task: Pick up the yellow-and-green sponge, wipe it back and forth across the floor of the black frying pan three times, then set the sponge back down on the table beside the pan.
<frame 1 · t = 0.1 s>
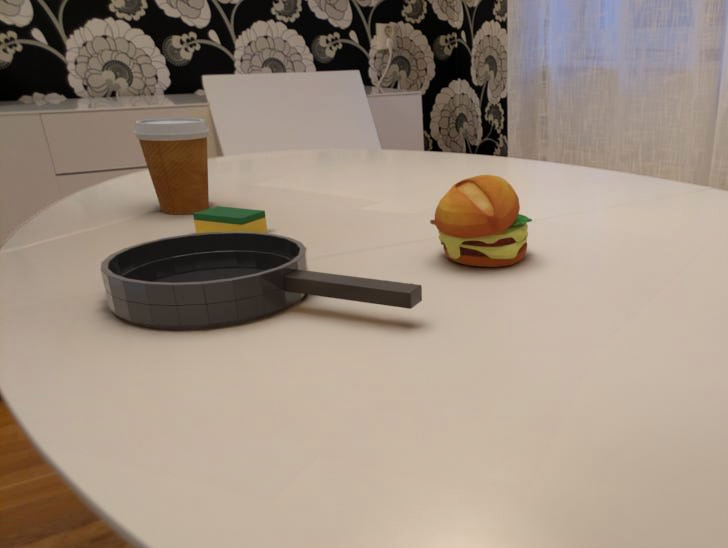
pan handle: (351, 288, 57), point 2 cm above the table
sponge: (232, 236, 82), on the table
disposable coffee cup: (185, 211, 96), on the table
pan: (214, 296, 62), on the table
cheeseburger: (483, 260, 75), on the table
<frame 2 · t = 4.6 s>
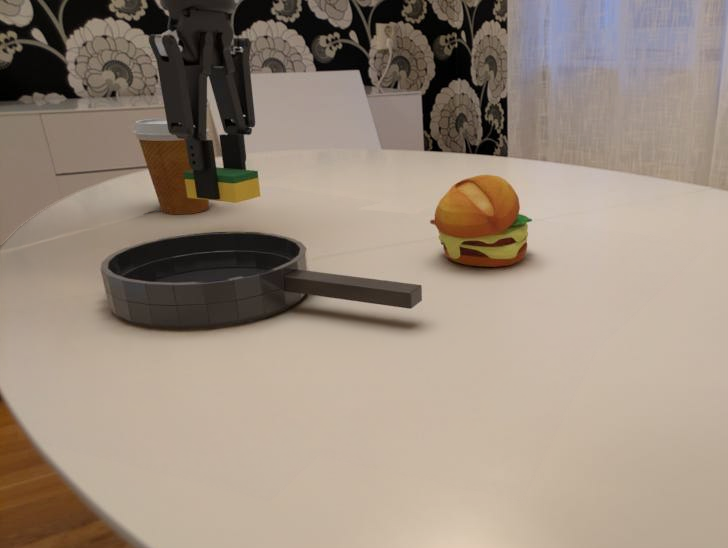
hand: (223, 193, 80), 5 cm above the table, tool pointing down, fingers closed on sponge, 4 cm apart
sponge: (224, 197, 80), point 5 cm above the table, touching gripper
everything else where it was.
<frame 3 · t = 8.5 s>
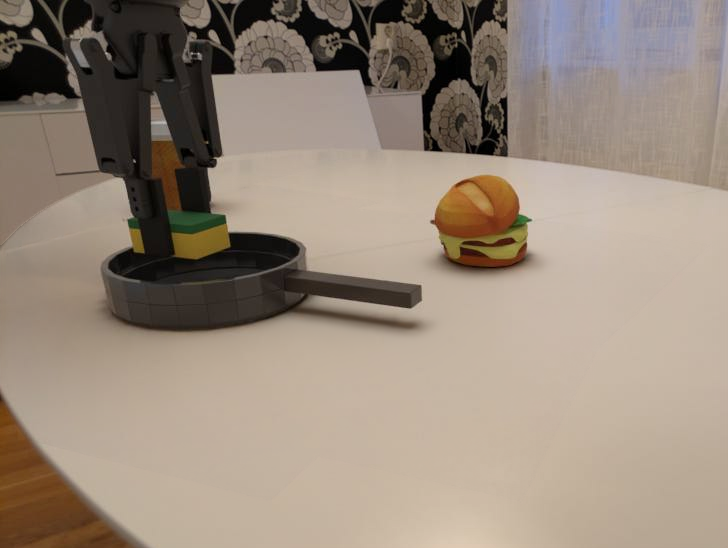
hand: (181, 246, 61), 5 cm above the table, tool pointing down, fingers closed on sponge, 4 cm apart
sponge: (183, 249, 61), point 4 cm above the table, touching gripper
everything else where it was.
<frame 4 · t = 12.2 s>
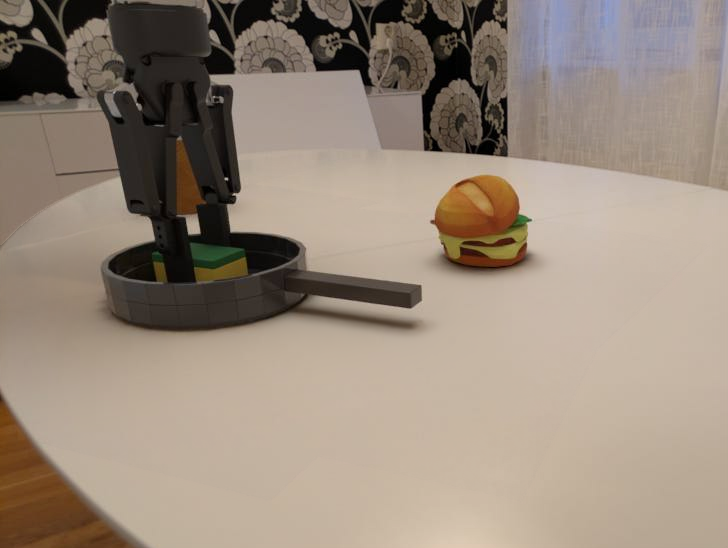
hand: (202, 278, 64), 1 cm above the table, tool pointing down, fingers closed on sponge, 4 cm apart
sponge: (203, 281, 65), point 1 cm above the table, touching gripper
everything else where it was.
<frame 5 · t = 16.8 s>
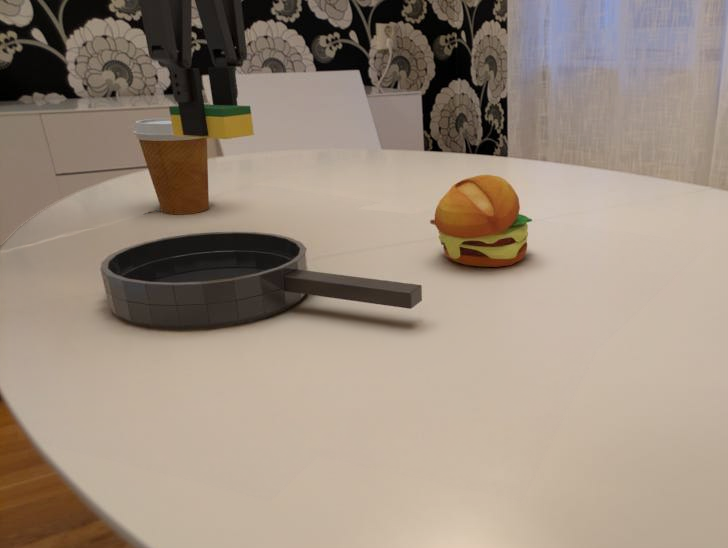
hand: (212, 132, 73), 13 cm above the table, tool pointing down, fingers closed on sponge, 4 cm apart
sponge: (214, 135, 73), point 12 cm above the table, touching gripper
everything else where it was.
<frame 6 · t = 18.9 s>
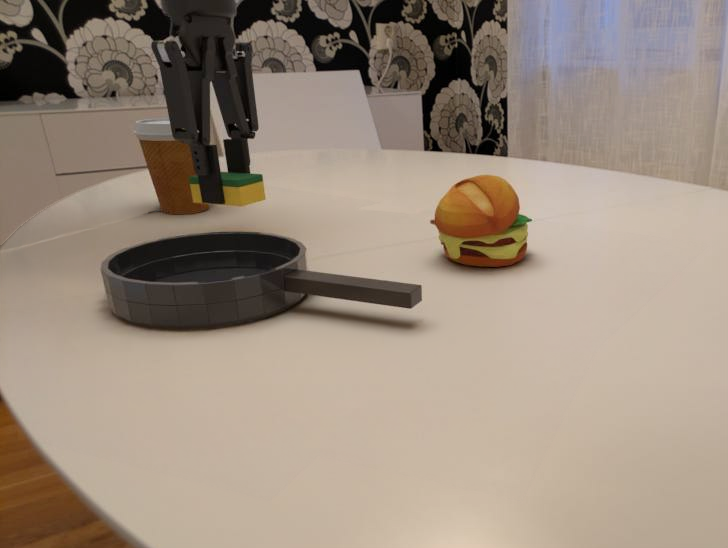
hand: (228, 198, 81), 5 cm above the table, tool pointing down, fingers closed on sponge, 4 cm apart
sponge: (229, 201, 81), point 4 cm above the table, touching gripper
everything else where it was.
when the fingers open (0 cm above the table, at t = 20.3 s): sponge stays where it is, on the table.
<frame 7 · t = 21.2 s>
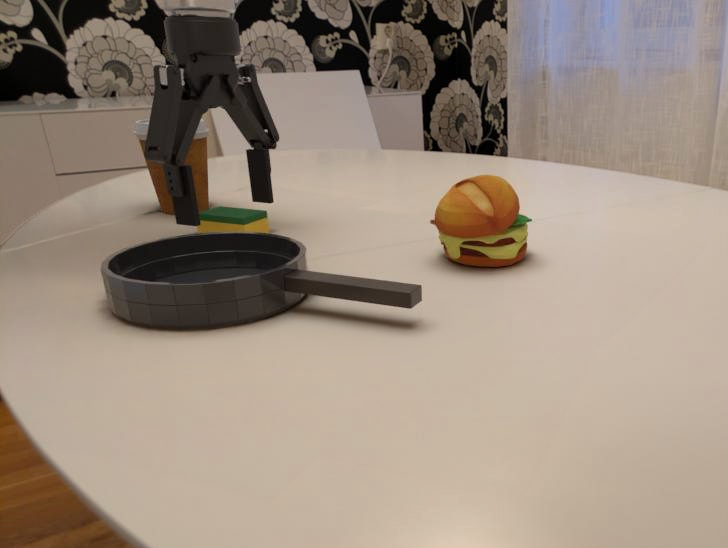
hand: (228, 212, 81), 3 cm above the table, tool pointing down, fingers open, 13 cm apart
sponge: (234, 236, 82), on the table
everything else where it was.
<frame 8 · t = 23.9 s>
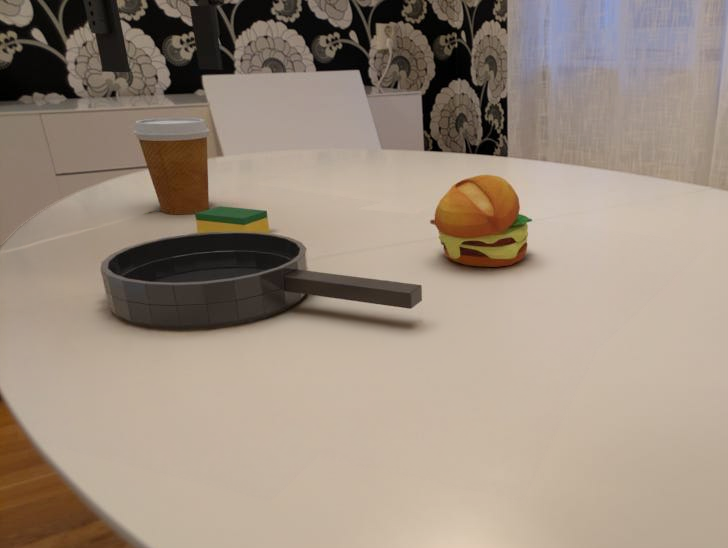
hand: (167, 71, 72), 19 cm above the table, tool pointing down, fingers open, 13 cm apart
nothing on the table moved.
at the end: sponge inside the target area on the table beside the pan (0.3 cm from its centre), on the table; the gripper is holding nothing; sponge tilted 0° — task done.
